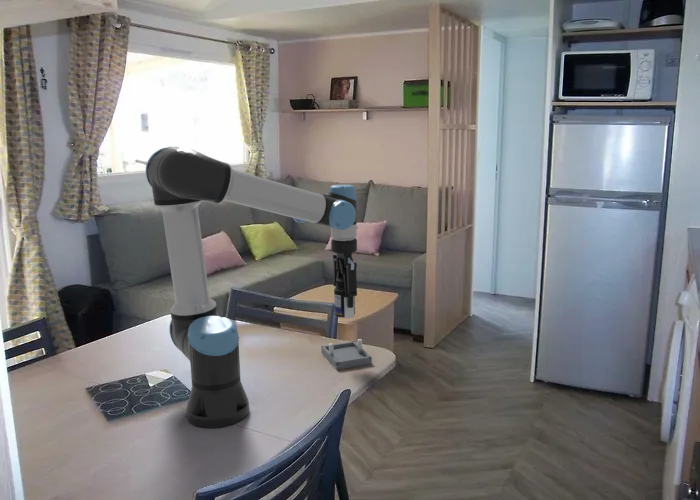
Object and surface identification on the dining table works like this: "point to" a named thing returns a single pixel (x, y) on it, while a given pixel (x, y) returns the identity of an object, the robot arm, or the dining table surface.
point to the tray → (346, 354)
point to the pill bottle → (340, 298)
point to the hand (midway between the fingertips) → (345, 314)
